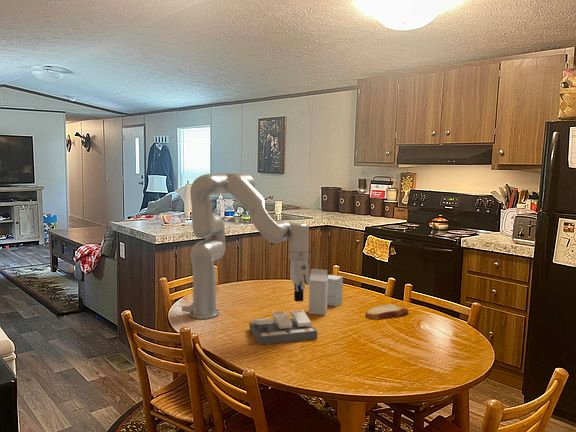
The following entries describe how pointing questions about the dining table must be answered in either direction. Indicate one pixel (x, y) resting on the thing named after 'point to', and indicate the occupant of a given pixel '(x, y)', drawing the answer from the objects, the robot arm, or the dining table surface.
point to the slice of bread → (385, 312)
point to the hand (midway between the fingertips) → (298, 300)
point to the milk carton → (318, 292)
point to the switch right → (300, 317)
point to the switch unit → (281, 333)
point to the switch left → (263, 321)
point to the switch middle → (282, 319)
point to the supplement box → (334, 290)
